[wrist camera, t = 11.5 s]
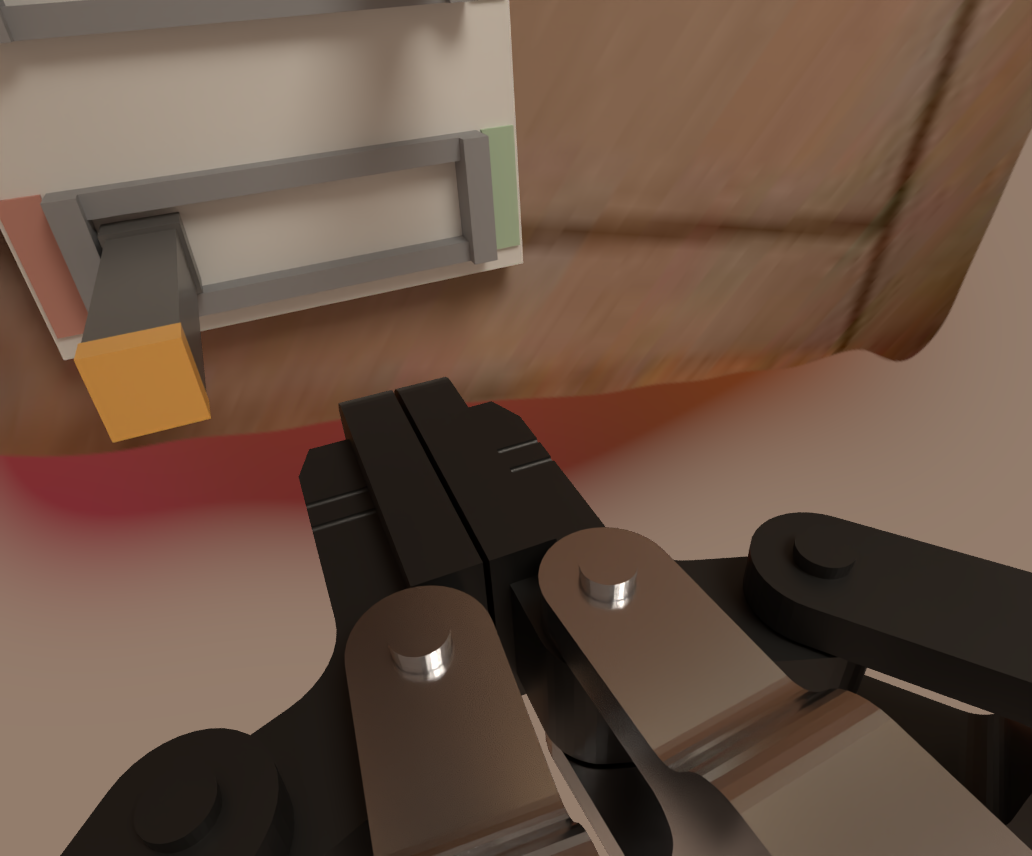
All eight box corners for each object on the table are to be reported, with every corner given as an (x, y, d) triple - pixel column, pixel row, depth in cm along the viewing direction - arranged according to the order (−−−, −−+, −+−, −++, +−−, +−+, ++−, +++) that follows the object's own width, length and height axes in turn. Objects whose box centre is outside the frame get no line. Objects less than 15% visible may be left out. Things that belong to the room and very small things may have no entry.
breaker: (128, 293, 30) (109, 448, 20) (100, 224, 28) (64, 356, 18) (201, 279, 31) (217, 421, 21) (179, 211, 29) (185, 331, 19)
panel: (68, 341, 32) (13, 548, 20) (-192, -211, 21) (-618, -434, 10) (508, 251, 38) (656, 370, 27) (478, -209, 28) (702, -342, 16)
